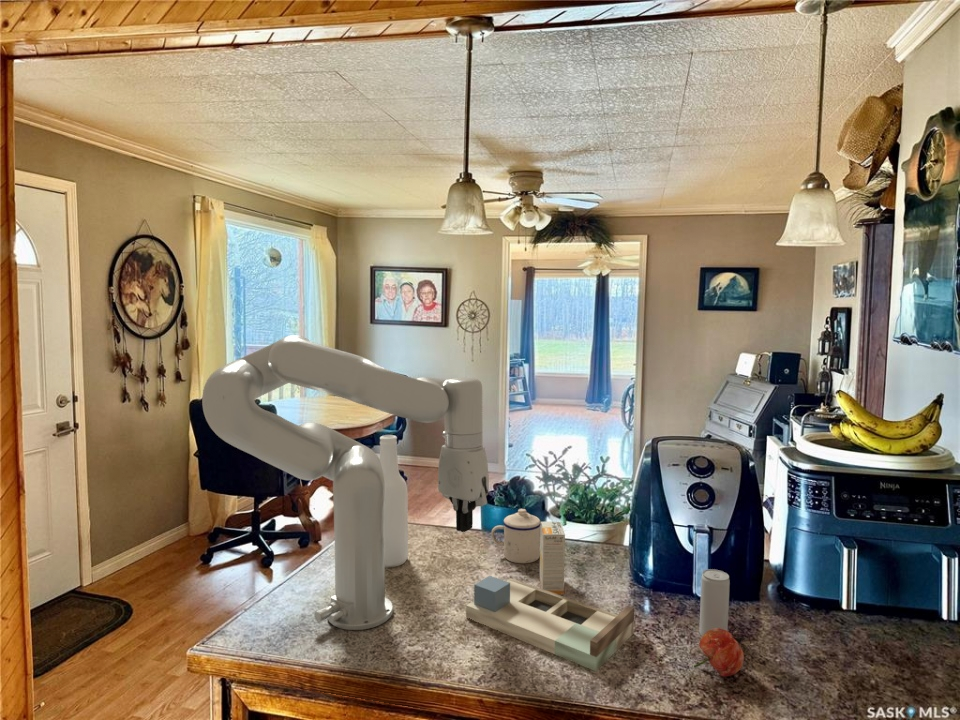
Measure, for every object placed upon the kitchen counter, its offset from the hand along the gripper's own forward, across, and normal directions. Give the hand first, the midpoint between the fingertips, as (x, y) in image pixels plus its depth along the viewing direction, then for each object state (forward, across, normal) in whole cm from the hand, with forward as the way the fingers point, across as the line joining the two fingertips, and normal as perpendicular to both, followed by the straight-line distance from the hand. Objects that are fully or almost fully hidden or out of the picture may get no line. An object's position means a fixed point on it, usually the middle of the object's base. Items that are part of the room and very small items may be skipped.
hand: (464, 529), depth 122 cm
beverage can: (+16, +44, +19) cm, 50 cm away
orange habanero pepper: (+16, +48, +9) cm, 51 cm away
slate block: (+13, +7, 0) cm, 15 cm away
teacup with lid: (+16, -5, +26) cm, 31 cm away
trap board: (+16, +18, +3) cm, 24 cm away
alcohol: (+16, -27, +5) cm, 32 cm away
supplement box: (+16, +10, +18) cm, 26 cm away
